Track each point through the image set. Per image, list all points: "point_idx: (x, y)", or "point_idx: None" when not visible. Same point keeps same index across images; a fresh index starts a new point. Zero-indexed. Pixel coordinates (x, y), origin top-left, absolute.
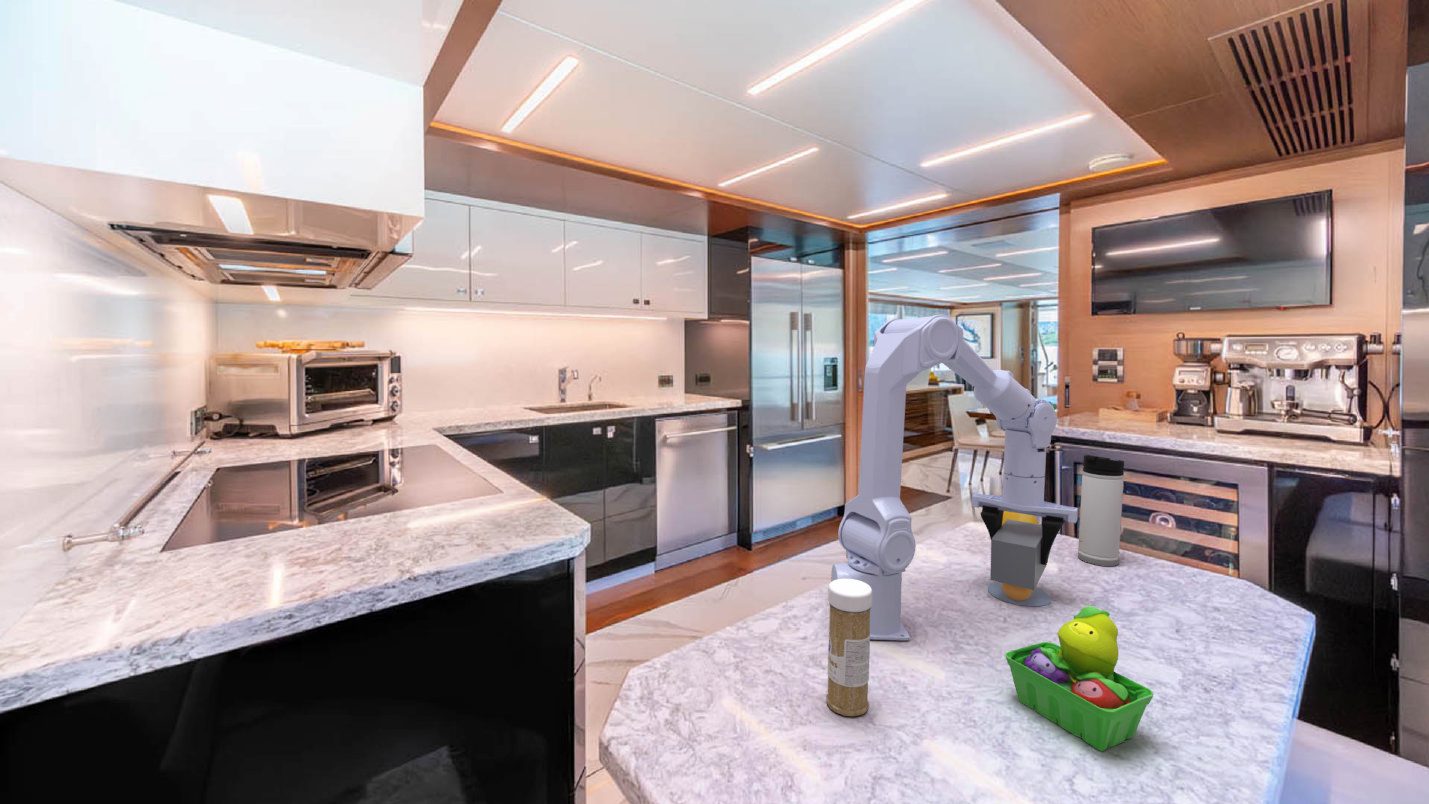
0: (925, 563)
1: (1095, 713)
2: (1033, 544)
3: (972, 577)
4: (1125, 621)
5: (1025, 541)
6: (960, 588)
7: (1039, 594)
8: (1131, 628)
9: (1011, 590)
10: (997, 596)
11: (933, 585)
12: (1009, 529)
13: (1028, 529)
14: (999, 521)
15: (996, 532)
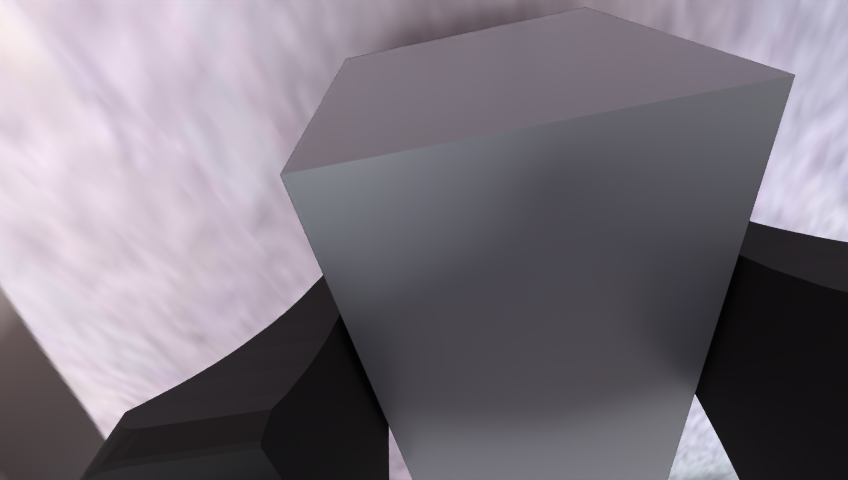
0: (34, 146)
1: None
2: (647, 477)
3: (263, 139)
4: (839, 107)
5: (599, 471)
6: (310, 270)
7: None
8: (843, 154)
9: None
10: None
11: (245, 310)
12: (448, 391)
13: (581, 309)
14: (361, 448)
15: (388, 433)
